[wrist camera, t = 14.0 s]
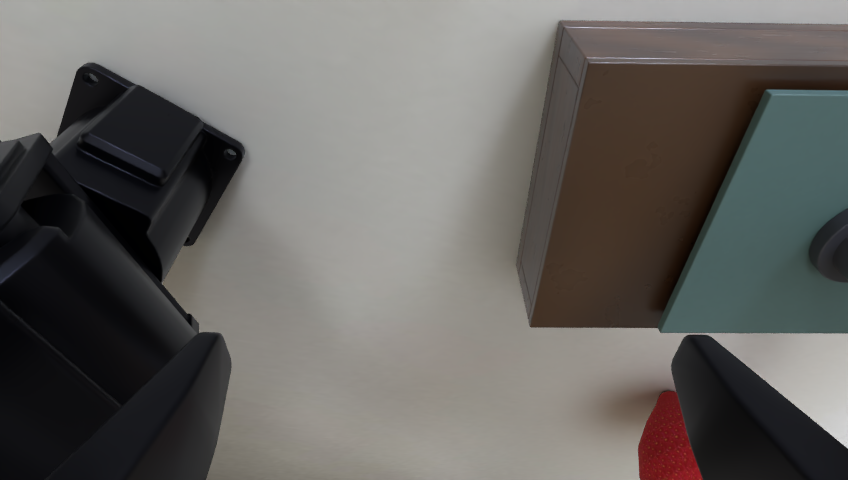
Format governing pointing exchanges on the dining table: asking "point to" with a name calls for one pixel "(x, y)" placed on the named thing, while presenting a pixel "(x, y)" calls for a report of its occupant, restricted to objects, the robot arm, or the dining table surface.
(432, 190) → the dining table surface
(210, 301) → the dining table surface
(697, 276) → the peg plate
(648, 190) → the sliding lid box
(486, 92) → the dining table surface
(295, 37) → the dining table surface
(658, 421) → the strawberry
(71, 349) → the robot arm
